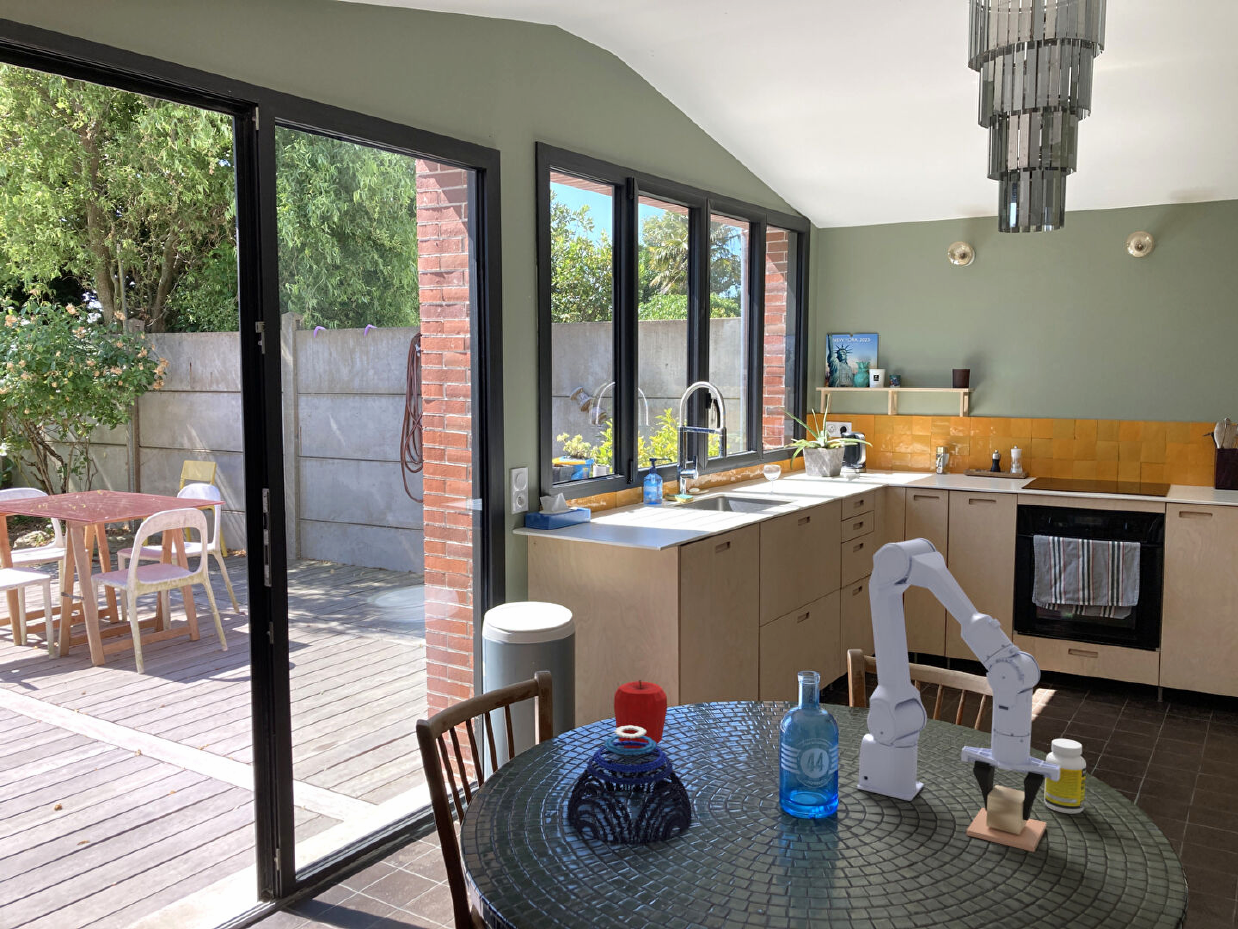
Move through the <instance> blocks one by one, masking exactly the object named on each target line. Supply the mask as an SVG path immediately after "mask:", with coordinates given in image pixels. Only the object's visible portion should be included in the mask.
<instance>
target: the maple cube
mask: <svg viewBox="0 0 1238 929" xmlns="http://www.w3.org/2000/svg"><path fill="white" fill-rule="evenodd" d="M1023 809H1024V791H1023V790H1018V789H1015V788H1011V787H1006V786H1001V785H998V784H996V785H995V786H993V789H992V791H991V792H990V793H989V794H988V799H987V819H986V826H988V827H992V828H996V829H1000V830H1003V831H1007V832H1011V833H1015V834H1018V835H1019V834H1020V833H1021V831H1022V830H1023V828H1024V827H1025V825H1026V823H1027V821H1026V820H1023Z"/></svg>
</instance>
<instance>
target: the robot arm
mask: <svg viewBox="0 0 1238 929" xmlns="http://www.w3.org/2000/svg"><path fill="white" fill-rule="evenodd" d="M872 560H873V568H872V571H871V572H872V573H871V575H870V578H869V581H868V592H869V593H868V594H869V603H870V614H871V623H872V624H871V625H872V632H873V633H872V634H873V635H872V636H873V644H874V653H875V654H874V655H875V656H874V657H875V666H876V675H877V676H876V677H877V683H878V685H877V687H875V690H874V691H873V693H872V695H871V696H870V697H869V710H868V714H867V716H866V717H867V718H866V723H867V724H866V725H867V729H868V731H869V733H865V735H864V736H863V738H862V739H861V742H860V748H859V761H858V762H859V764H858V766H859V768H858V784H857V786H856V787H857V789H858V790H862V791H867V792H870V793H876V794H879V795H883V796H886V797H887V796H888V797H892V798H895V799H900V800H904V801H909V802H910V801H912V800H913V799H914V798H915V796H916V795H918V793H920V791H921V790H922V788H923V787H924V783H923V782H920V781H917V776H918V775H917V774H918V773H917V771H918V749H919V748H918V746H919V745H918V744H919V739H920V732H921V731H922V730H923V729H924V728H925V727H926V725H927V721H928V715H927V711H926V709H925V707H924V705H923V703H922V700H921V692H920V691H919V690H918V689H917V687H916V686H914V685H913V684H912V682H911V674H910V673H911V672H910V663H909V655H908V654H909V653H908V651H909V650H908V641H907V633H906V623H905V612H904V604H903V603H904V602H903V593H905V591H906V590H907V589H908V588H909V587H910V586H915V587H921V588H924V589H928V590H929V591H930V592H931V593H932V594H933V596H934V597H935V598H936V599H937V600H938V601H939V602H940V603H941V604H942V606H944V608H946V610H947V611H948V612H949V613H950V614H951V615H952V617H953V618H954V619H955V620H956V621H957V622H958V623H959V624H960V627H961V628H960V637H961V638H962V640H963V641H964V642H965V644H966V645H967V646H968V647H969V648H970V650H971V651H972V653H973V654H974V655H975V657H976V658H977V659H978V661H979V662H981V664H982V665H983V666H984V667H985V669H986V670H987V672H986V673H985V674H986V680H987V683H988V685H989V687H990V688H991V690H992V719H991V720H992V724H991V744H990V748H981V747H974V746H966V745H963V746H964V747H962V749H961V754H960V755H961V757H960V761H961V762H963V763H969V762H971V763H974V765H973V768H972V772H973V776H974V778H975V780H976V781H977V784H978V786H979V788H980V791H981V794H982V798H983V802H984V808H985V811H987V799H988V794H989V793H990V792H991V791H992V789H993V788H994V779H995V772H996V768H997V769H1001V770H1005V771H1014V772H1019V773H1023V774H1026V776H1025V778H1024V779H1023V790H1024V791H1023V792H1024V809H1023V820H1026V821H1028V819H1031V818H1030V817H1031V813H1032V809H1033V805H1034V801H1035V799H1036V797H1037V794H1038V793H1039V791H1040V788H1041V787H1042V785H1043V783H1044V782H1045V778H1050V779H1051V780H1053V781H1058V780H1059V778H1060V765H1055V764H1052V763H1048V762H1046V760H1043V759H1038V758H1036V757H1033V756H1031V740H1032V738H1031V737H1032V736H1031V735H1032V734H1031V733H1032V719H1033V718H1032V717H1033V716H1032V714H1033V697H1034V696H1033V692H1034V691H1033V690H1034V688H1033V687H1034V686H1036V685H1037V684H1038V682H1039V681H1040V679H1041V668H1040V666H1039V664H1038V662H1037V660H1036V659H1035V657H1034V656H1033V655H1032V654H1030V653H1028V652H1027V651H1021V649H1020V648H1019V646H1017V645H1015V644H1014V643H1013V641H1012V640H1011V639H1010V638H1009V637H1008V636H1007V634H1006V633H1005V632H1004V631H1003V629H1001V625H1002V624H1001V622H1000V621H999V620H998V619H997V618H994V619H993V617H992V616H991V615H989V614H984V613H980V612H979V611H978V609H976V606H974V603H972V601H971V600H970V599H969V597H968V596H967V595H966V593H965V592H964V590H963V589H962V587H961V586H960V585H959V583H958V582H957V580H956V578H954V576H953V575H952V573H951V572H950V570H949V569H948V568H947V566H946V562H945V557H944V556H943V554H942V553H941V552H940V551H937V548H936V547H935V545H934V543H933V542H931V540H928V539H926V538H923V537H918V538H914V539H911V540H910V539H909V540H905V541H898V542H888V543H885V544H883V545H882V546H881V547H880V548H879V549H878V550H877V551H876V552H875V553H874V554H873V556H872Z"/></svg>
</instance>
